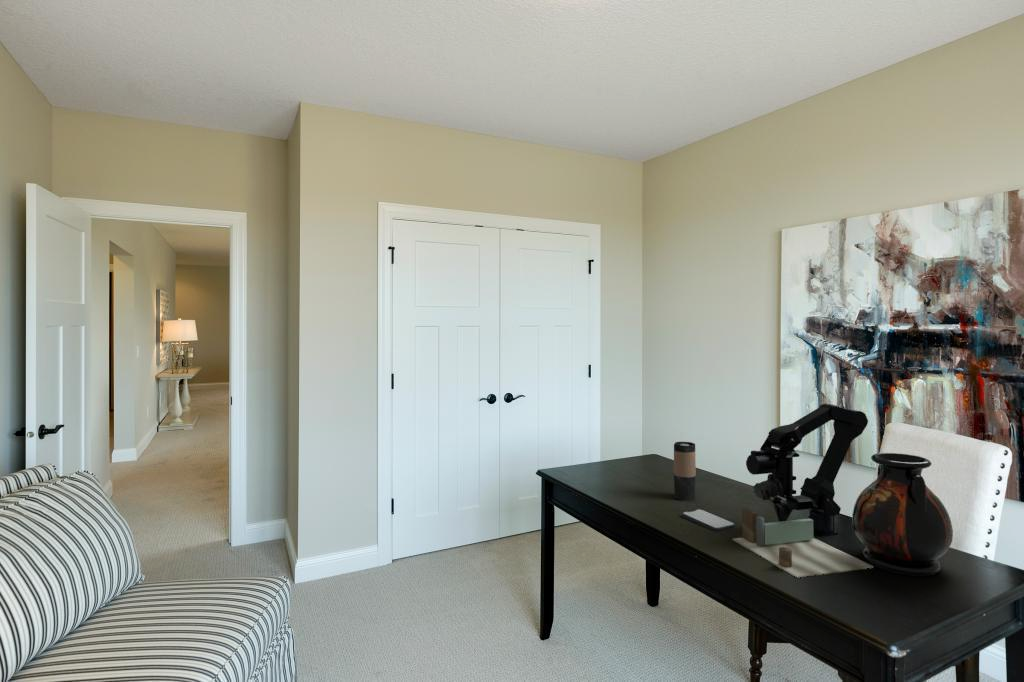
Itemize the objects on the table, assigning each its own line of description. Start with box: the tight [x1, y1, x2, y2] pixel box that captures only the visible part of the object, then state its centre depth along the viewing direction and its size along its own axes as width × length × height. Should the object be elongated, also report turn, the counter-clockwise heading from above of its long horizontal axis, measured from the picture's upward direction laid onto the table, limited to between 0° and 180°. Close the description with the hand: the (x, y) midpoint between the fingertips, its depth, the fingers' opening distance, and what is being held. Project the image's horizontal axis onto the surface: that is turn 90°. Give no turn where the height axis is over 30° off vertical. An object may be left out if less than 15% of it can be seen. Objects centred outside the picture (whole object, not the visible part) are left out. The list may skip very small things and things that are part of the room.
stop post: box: [779, 547, 792, 567], centre depth 146 cm, size 3×3×4 cm
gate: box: [756, 516, 814, 546], centre depth 160 cm, size 18×2×8 cm, turn 103°
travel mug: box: [673, 441, 697, 501], centre depth 205 cm, size 8×8×20 cm
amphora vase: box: [851, 452, 954, 577], centre depth 146 cm, size 22×22×28 cm
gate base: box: [732, 507, 875, 579], centre depth 154 cm, size 23×26×9 cm
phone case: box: [681, 508, 736, 532], centre depth 180 cm, size 9×2×16 cm
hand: (782, 524), depth 167 cm, fingers closed
